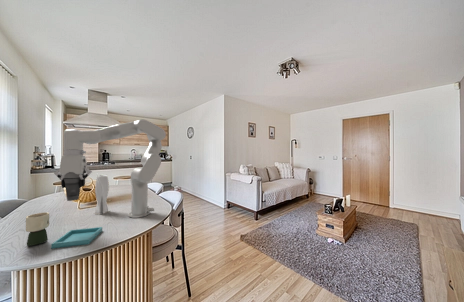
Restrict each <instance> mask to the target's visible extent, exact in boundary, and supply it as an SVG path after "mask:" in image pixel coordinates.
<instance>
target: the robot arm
mask: <svg viewBox="0 0 464 302" xmlns="http://www.w3.org/2000/svg"><path fill="white" fill-rule="evenodd" d="M138 134H146V137H147V140H148V142H149V144H148V147H147V149H146V150H145V152H144V154H143V155H142V156H141V159H140V164H141V165H142V167H135V168H134V169H132V171H131V172H130V181H131V182H130V183H131V201H130V202H131V208H130V210H131V211H130V212H129V214H128V217H129V218H132V219H136V218H144V217H146V216H148V215H150V214H151V212H155V207H149V205H148V195H149V194H148V193H149V191H148V189H149V187H148V183H150V182H151V181H152V180H153V179H154V177H155V176H156V174H157V172H158V171H159V168H160V167H161V164H162V158H161V156H160V153H161V151H162V148H163V146H162V145H163V144H162V141H163V140H164V139H165V138H166V136H167V135H166V131H165V130H164V128H162V127H160V126H158V125H156V124H155V123H153V122H151V121H149V120H147V119H138V120H133V121H128V122H124V123H118V124H115V125H110V126H107V127H104V128H99V129H95V130H94V129H92V130H91V129H90V130H81V129H71V128H69V129H65V130H64V131H63V155H62V156H61V159H60V164H59V168H58V169H57V170H56V171H54V172H53V174H54V175H55V176H56V177H57V178H58V179H59V180H60V181H61V183H60V185H61V189H66V187H65V181H64V176H65V174H66V173H69V172H73V173H75V174H77V175H79V177H80V178H81V179H80V180H79V187H80V188H82V187H85V185H86V179H87V177H89V176H90V175H91V174H92V173H93V171H92V170H90V169H89V168H88V163H87V157H86V155H84V154H86V153H87V152H86V150H84V144H86V145H97V144H99V143H103V142H106V141H109V140H110V141H111V140H117V139H122V138H123V139H124V138H127V137H130V136H134V135H138Z"/></svg>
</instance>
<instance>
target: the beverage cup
mask: <svg viewBox="0 0 464 302" xmlns="http://www.w3.org/2000/svg"><path fill="white" fill-rule="evenodd" d="M80 179H81V178H80V177H79V175H77V174H75V173H73V172H69V173H66V174H65V176H64V181H65V194H66V201H67V202H73V201H77V200H79V199H80V191H81V187H79V180H80Z"/></svg>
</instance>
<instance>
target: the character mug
mask: <svg viewBox="0 0 464 302" xmlns="http://www.w3.org/2000/svg"><path fill="white" fill-rule="evenodd" d="M49 226H50V212H48V211H47V212H39V213H38V212H36V213H33V214H29V215H27V216H26V217H25V232H28V235H27V241H26V246H27V247H31V246H35V245H40V244H43V243H46V242H48V240H49V239H48V238H49V237H48V232H47V229H48V228H49Z"/></svg>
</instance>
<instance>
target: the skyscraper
mask: <svg viewBox="0 0 464 302" xmlns="http://www.w3.org/2000/svg"><path fill="white" fill-rule="evenodd" d="M96 175H97V176H96V179H95V180H96V181H95V187H94V189H95V191H94V193H95V199H96V207H95V212H94V213H93V214H95V216H97V215H98V216H104V215H105V213H106V214H108V213H109V212H111V210H109V206H108V203H107V199H108V195H109V190H110V186H109V185H110V184H109V178H108V174H106V175H105V174H104V173H103V174H99V172H97V173H96Z"/></svg>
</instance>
